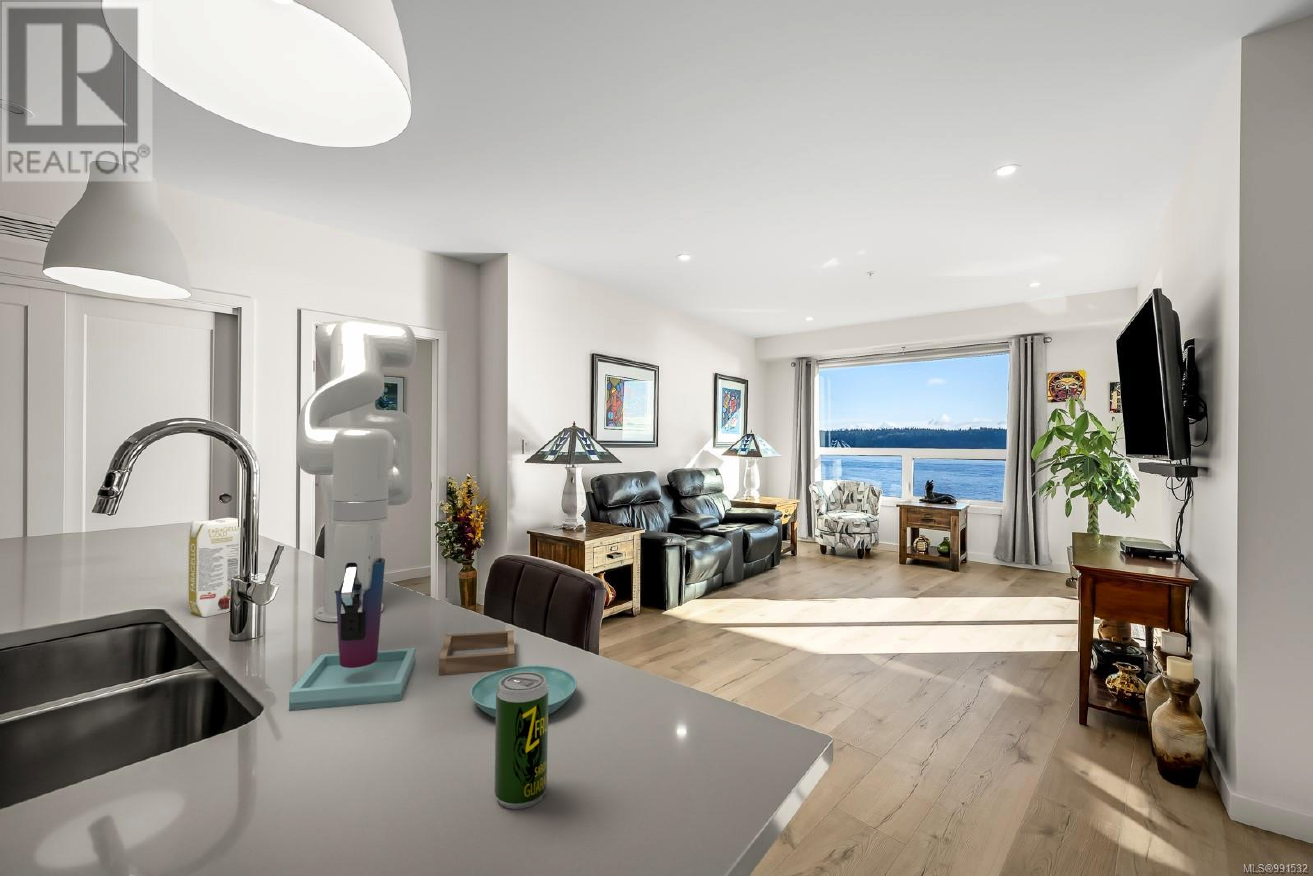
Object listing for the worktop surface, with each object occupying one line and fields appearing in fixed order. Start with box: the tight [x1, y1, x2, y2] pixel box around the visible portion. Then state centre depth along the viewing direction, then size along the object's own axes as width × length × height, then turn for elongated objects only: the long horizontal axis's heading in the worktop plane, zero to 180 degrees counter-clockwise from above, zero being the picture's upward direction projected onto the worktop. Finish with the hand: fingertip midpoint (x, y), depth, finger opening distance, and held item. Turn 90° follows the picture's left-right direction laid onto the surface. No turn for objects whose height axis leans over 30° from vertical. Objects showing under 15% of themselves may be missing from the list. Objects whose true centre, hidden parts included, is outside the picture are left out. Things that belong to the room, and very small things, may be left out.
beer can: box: [494, 672, 549, 810], centre depth 62 cm, size 5×5×12 cm
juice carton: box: [187, 517, 239, 618], centre depth 123 cm, size 8×9×19 cm
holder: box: [438, 630, 515, 676], centre depth 100 cm, size 12×12×2 cm
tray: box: [288, 647, 416, 712], centre depth 89 cm, size 14×14×2 cm
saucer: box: [469, 665, 578, 719], centre depth 84 cm, size 15×15×3 cm
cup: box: [336, 557, 386, 668], centre depth 89 cm, size 7×7×15 cm
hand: (358, 630), depth 89 cm, fingers closed on cup, 6 cm apart
